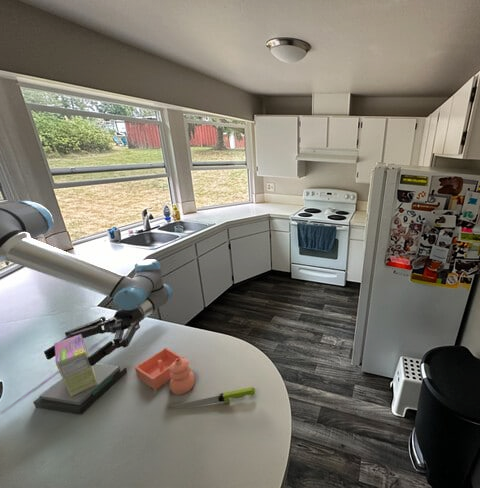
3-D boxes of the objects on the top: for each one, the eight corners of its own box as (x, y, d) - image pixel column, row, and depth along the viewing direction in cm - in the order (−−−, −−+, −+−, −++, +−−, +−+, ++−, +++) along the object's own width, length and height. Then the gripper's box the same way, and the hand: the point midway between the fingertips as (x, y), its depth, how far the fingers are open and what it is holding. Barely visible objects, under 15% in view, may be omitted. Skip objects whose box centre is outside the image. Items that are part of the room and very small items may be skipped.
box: (66, 375, 73) (53, 343, 69) (92, 364, 77) (81, 333, 73) (69, 398, 67) (55, 363, 63) (97, 384, 71) (86, 351, 67)
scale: (35, 407, 67) (31, 398, 66) (88, 366, 80) (85, 358, 79) (81, 414, 66) (77, 406, 65) (127, 372, 79) (124, 364, 78)
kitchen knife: (171, 415, 68) (169, 407, 67) (173, 410, 69) (170, 403, 68) (255, 397, 72) (254, 390, 71) (255, 393, 73) (254, 386, 72)
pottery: (137, 377, 77) (130, 352, 74) (167, 357, 85) (162, 333, 82) (174, 403, 70) (168, 377, 66) (204, 378, 78) (199, 353, 74)
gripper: (168, 325, 88) (112, 375, 68) (105, 318, 91) (33, 363, 71) (164, 307, 85) (105, 353, 65) (99, 300, 88) (23, 342, 68)
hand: (67, 358), depth 68 cm, fingers open, 13 cm apart
